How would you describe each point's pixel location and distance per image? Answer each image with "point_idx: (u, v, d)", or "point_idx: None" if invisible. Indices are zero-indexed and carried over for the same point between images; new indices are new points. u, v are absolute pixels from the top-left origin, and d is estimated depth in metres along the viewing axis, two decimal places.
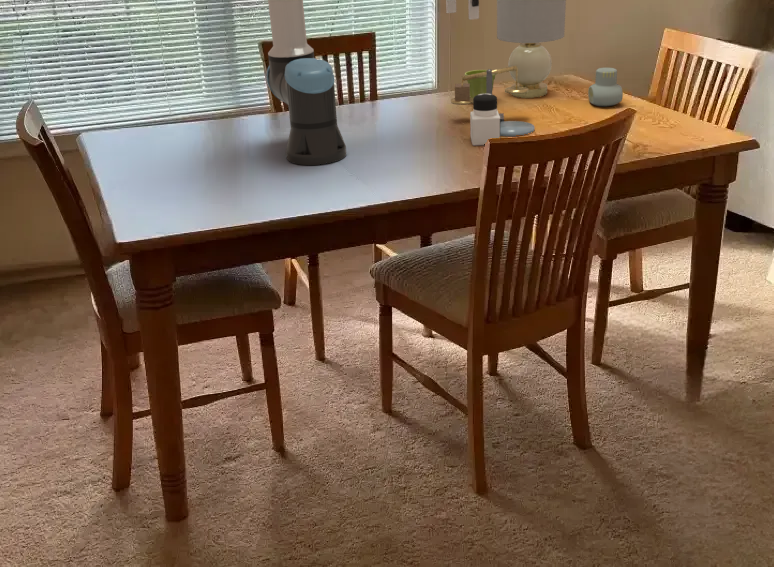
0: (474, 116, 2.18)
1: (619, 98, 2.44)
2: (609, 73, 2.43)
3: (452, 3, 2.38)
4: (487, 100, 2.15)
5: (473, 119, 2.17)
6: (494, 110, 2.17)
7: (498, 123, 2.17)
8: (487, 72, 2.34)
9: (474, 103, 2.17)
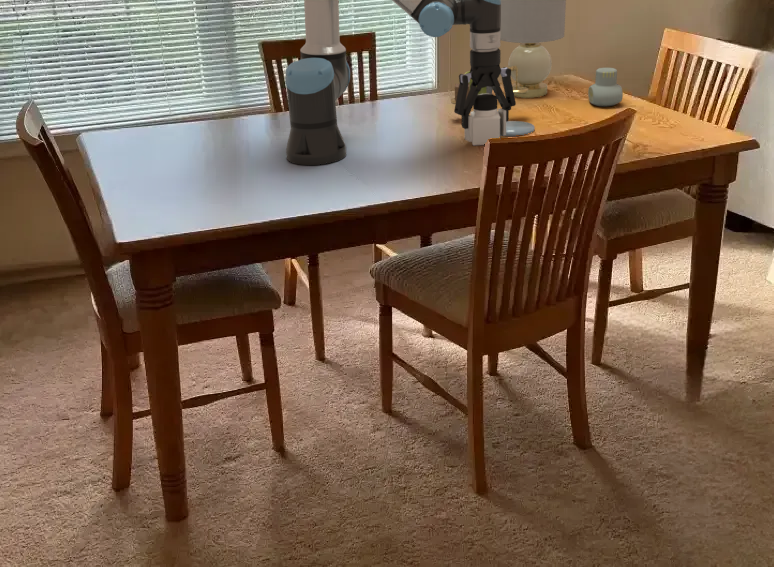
0: (474, 116, 2.18)
1: (619, 98, 2.44)
2: (609, 74, 2.43)
3: (501, 125, 2.22)
4: (487, 100, 2.15)
5: (473, 119, 2.17)
6: (494, 110, 2.17)
7: (498, 123, 2.17)
8: None
9: (474, 103, 2.17)
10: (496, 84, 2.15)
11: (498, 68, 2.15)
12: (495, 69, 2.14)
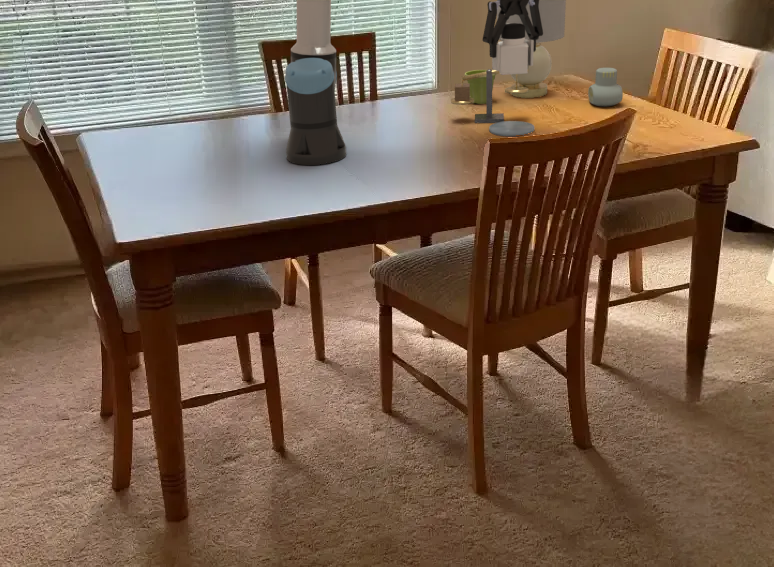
0: (502, 45, 2.19)
1: (619, 98, 2.44)
2: (609, 74, 2.43)
3: (528, 55, 2.23)
4: (515, 28, 2.16)
5: (501, 47, 2.18)
6: (522, 38, 2.18)
7: (526, 51, 2.18)
8: (487, 72, 2.34)
9: (502, 32, 2.18)
10: (524, 12, 2.17)
11: None
12: None
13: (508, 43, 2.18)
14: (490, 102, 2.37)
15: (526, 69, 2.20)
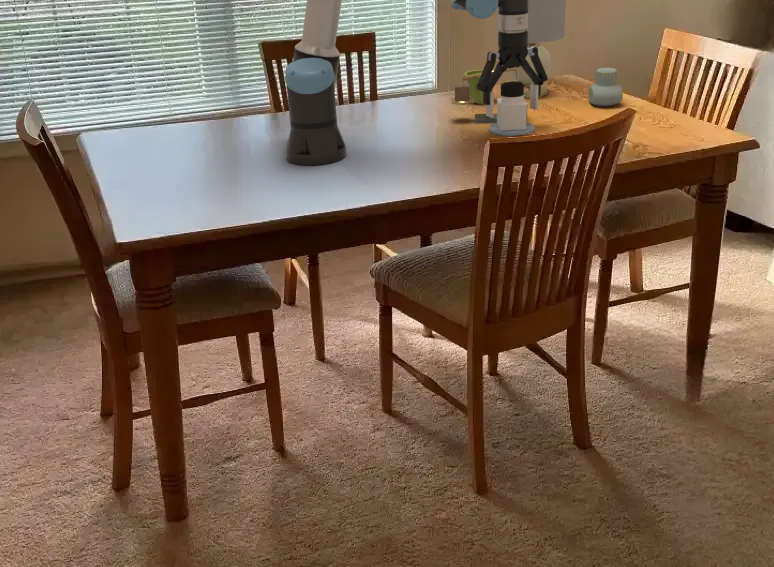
0: (502, 102, 2.25)
1: (619, 98, 2.44)
2: (609, 74, 2.43)
3: (533, 99, 2.29)
4: (514, 87, 2.22)
5: (501, 105, 2.24)
6: (521, 96, 2.24)
7: (525, 109, 2.24)
8: None
9: (502, 90, 2.25)
10: (525, 64, 2.22)
11: (525, 49, 2.21)
12: (522, 51, 2.21)
13: (507, 101, 2.25)
14: None
15: (525, 126, 2.26)
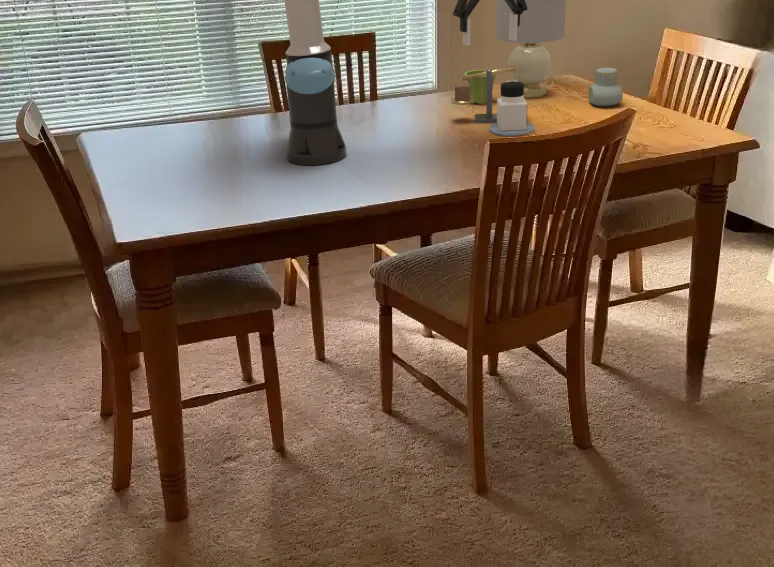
0: (502, 102, 2.25)
1: (619, 98, 2.44)
2: (609, 74, 2.43)
3: (512, 30, 2.22)
4: (514, 87, 2.22)
5: (501, 105, 2.24)
6: (521, 96, 2.24)
7: (525, 109, 2.24)
8: (487, 72, 2.34)
9: (502, 90, 2.25)
10: None
11: None
12: None
13: (507, 101, 2.25)
14: (490, 102, 2.37)
15: (525, 126, 2.26)
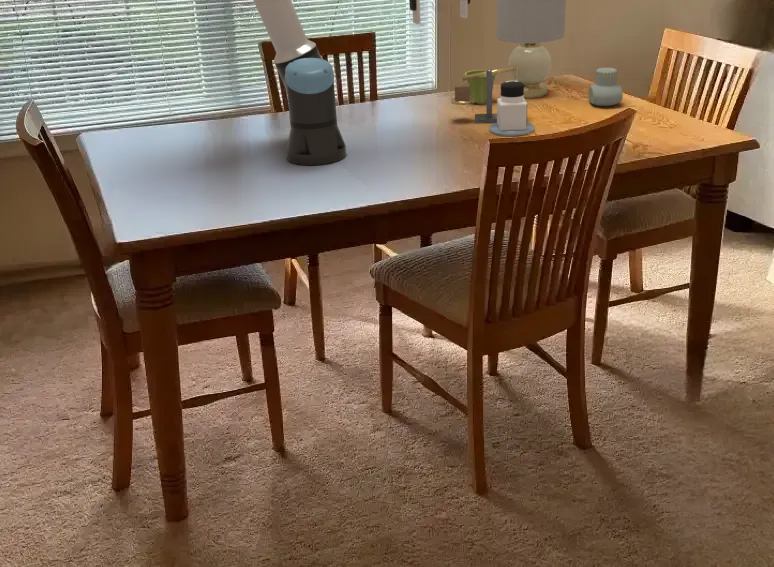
0: (502, 102, 2.25)
1: (619, 98, 2.44)
2: (609, 74, 2.43)
3: (463, 7, 2.23)
4: (514, 87, 2.22)
5: (501, 105, 2.24)
6: (521, 96, 2.24)
7: (525, 109, 2.24)
8: (487, 72, 2.34)
9: (502, 90, 2.25)
10: None
11: None
12: None
13: (507, 101, 2.25)
14: (490, 102, 2.37)
15: (525, 126, 2.26)
